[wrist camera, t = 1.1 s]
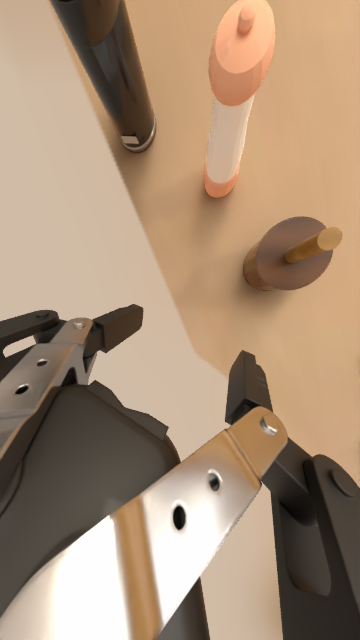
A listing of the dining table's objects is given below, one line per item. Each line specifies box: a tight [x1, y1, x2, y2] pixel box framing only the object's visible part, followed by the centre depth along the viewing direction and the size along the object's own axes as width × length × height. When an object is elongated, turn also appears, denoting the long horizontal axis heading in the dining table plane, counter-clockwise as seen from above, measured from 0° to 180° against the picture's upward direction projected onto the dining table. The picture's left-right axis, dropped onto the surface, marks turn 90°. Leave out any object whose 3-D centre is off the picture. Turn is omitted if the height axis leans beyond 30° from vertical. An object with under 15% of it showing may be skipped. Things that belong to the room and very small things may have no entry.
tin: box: [243, 242, 275, 290], centre depth 29 cm, size 12×12×8 cm
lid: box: [255, 217, 342, 290], centre depth 21 cm, size 12×12×8 cm
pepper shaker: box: [204, 0, 275, 198], centre depth 22 cm, size 7×7×19 cm
